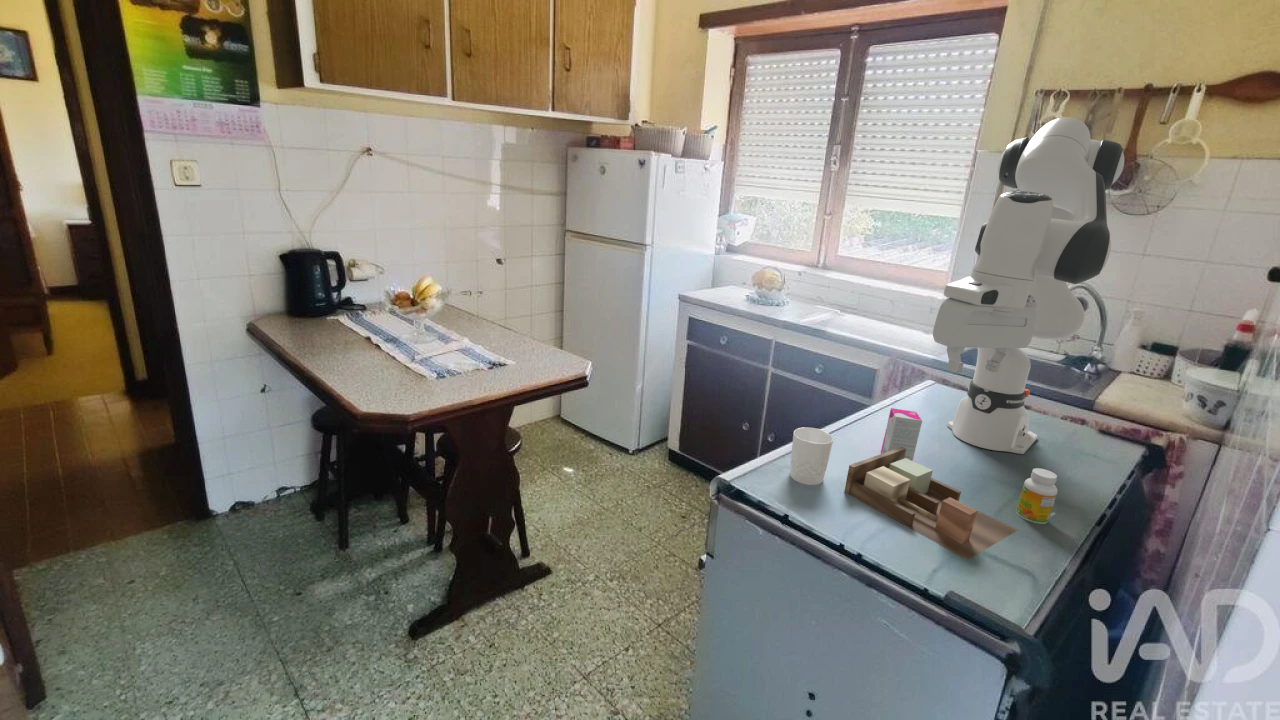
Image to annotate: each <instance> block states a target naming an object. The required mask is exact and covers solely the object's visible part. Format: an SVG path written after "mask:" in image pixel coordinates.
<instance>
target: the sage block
mask: <svg viewBox="0 0 1280 720" xmlns="http://www.w3.org/2000/svg"><path fill="white" fill-rule="evenodd" d="M889 469H890V470H892V471H894V472H896V473H898V474H900V475H902V476H904V477H906V478H908V479H910V484H909V487H910V488H912V489H914V490H916V491H918V492H920V493H922V494H924V493H927V492H928V488H929V484H930V480H931V478H932V475H933V472H934V470H933V469H932V468H930V467H929V468H928V467H927V466H924V465H922V464H921V463H918V462H916V461H914V460H913V461H911V460H909V459H907V458H904V459H902V460H899V461H896V462H894V463H891V464H890V466H889Z"/></svg>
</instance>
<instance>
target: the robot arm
mask: <svg viewBox="0 0 1280 720" xmlns="http://www.w3.org/2000/svg"><path fill="white" fill-rule="evenodd" d="M1124 167H1125V154H1124V148H1123V146H1122V145H1121V144H1120V143H1118V142H1116V141H1112V140H1107V139H1102V140H1097V139H1092V137H1091V132H1090V130H1089V128H1088V126H1087V125H1086V124H1085V123H1084V122H1083V121H1081V120H1080V119H1078V118H1074V117H1058V118H1055V119H1052V120H1050V121H1049V122H1046V123H1045V124H1044V125H1043V126H1042V127H1041V128H1039V129H1038V131H1037V132H1036V133H1035V134H1034V135H1032V137H1030V136H1029V137H1022V138H1018V139H1017V138H1016V139H1015V140H1013V141H1012V142H1010V143H1009V144H1007V146H1006V147H1005V150H1003V152H1002V154H1001V156H1000V157H999V160H998V165H997V173H998V180H999V181H1000V182H1001V184H1002V185H1003V186H1005V187H1008V188H1012V189H1018V190H1019V191H1016V190H1011V191H1006V192H1004V193H1001V194H1000V195H999V196H998V198H997V201H995V204H994V206H993V208H992V211H991V212H990V215H989V218H988V219H987V221H986V222H984V223H982V225H981V227H980V231H979V234H978V238H977V240H976V241H977V242H976V244H975V248H974V251H975V253H976V254H977V256H978V257H979V258H978V259H977V262H976V263H975V264H974V266H973V269H972V272H971V275H969V276H966V277H964V278H961V279H960V280H956V281H953V282H950V283H947V284H946V286H945V288H944V291H943V295H944V297H946V299H944V301H942V303H941V305H940V306H939V309H938V312H937V314H936V318H935V321H934V326H933V329H932V330H933V331H932V338H933V341H934V342H935V343H936V344H938V345H939V344H940V345H942V346H945V347H946V353H947V358H948V363H947V366H946V369H947V371H949V372H952V373H961V372H963V371H962V370H963V367H964V362H963V361H962V358H961V354H963V353H964V351H965V348H977V357H976V362H975V363H976V364H975V369H974V374H973V378H972V379H971V381H970V382H969V384H968V388H967V396H965V397H963V398H961V399H960V401H959V404H958V406H957V410H956V412H955V416H954V419H953V420H950V421H948V422H947V424H946V426H947V427H948V428H949V429H950V430H951V432H952V434H953V435H954V436H955V437H956V438H957V439H959V440H961V441H963V442H965V443H967V444H969V445H972V446H975V447H978V448H982V449H985V450H989V451H990V450H992V451H996V452H997V451H999V452H1007V453H1014V454H1019V455H1024V454H1025V453H1026V452H1027V451H1028V450H1029V448H1030V447H1031V446H1033V444H1034V443H1035V442H1036V441H1037V439H1038V435H1037V434H1036V433H1034V432H1032V431H1031V430H1030V429H1029V428H1030V424H1031V420H1032V415H1030V413H1029V412H1028V411H1027V409H1026V408H1025V401H1026V398H1028V397H1029V396H1030V394H1031V393H1030V392H1031V390H1030V389H1027V388H1026V385H1027V381H1028V378H1029V374H1030V370H1031V367H1032V366H1031V365H1032V363H1031V360H1030V358H1029V355H1027V353H1026V352H1025V351H1024V350H1022V349H1026V348H1027V347H1028V346H1029V345H1030V343H1031V341H1032V339H1033V338H1035V339H1039V340H1040V339H1041V340H1051V341H1052V340H1053V341H1054V340H1056V341H1062V340H1063V341H1066V340H1068V339H1069V338H1071V337H1073V336H1075V334H1077V333H1078V332H1079V331H1080V329H1081V328H1082V326H1083V324H1084V320H1085V308H1084V306H1083V304H1082V302H1081V301H1080V300H1079V299H1078V298H1077V297H1076V296H1075V295H1074V294H1073V292H1072V291H1071V289H1070V288H1069V286H1068V284H1073V285H1078V284H1081V283H1084V282H1087V281H1089V280H1091V279H1094V278H1095V277H1097V276H1099V275H1100V274H1101V272H1102V271H1103V269H1104V268H1105V266H1106V264H1107V262H1108V260H1109V257H1110V255H1111V249H1112V248H1111V247H1112V246H1111V245H1112V243H1111V236H1110V235H1111V233H1110V230H1109V227H1108V219H1107V197H1106V196H1107V195H1106V191H1107V190H1109V189H1110V188H1111V187H1112V186H1113V184H1114V183H1116V181H1117V180H1118V179H1119V177H1120V176H1121V174H1122V173H1123V170H1124ZM1067 283H1068V284H1067Z"/></svg>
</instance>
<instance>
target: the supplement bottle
mask: <svg viewBox="0 0 1280 720" xmlns="http://www.w3.org/2000/svg"><path fill="white" fill-rule="evenodd" d="M1057 480H1058V475H1057V474H1056V473H1054V472H1053V471H1050V470H1048V469H1045V468H1038V467H1036V468H1032V472H1031V474H1030V477H1029V478H1027V479H1025V481H1024V483H1023V485H1022V489H1021V493H1020V496H1019V500H1018V503H1017V505H1016V509H1015V512H1016V515H1017V516H1019V517H1020V518H1022V519H1023V520H1026V521H1029V522H1031V523H1035V524H1042V525H1046V524H1047V523H1049V520H1050V518H1051V513H1052V511H1053V508H1054V504H1055V501H1056V498H1057V495H1058V488H1057V486H1056V485H1055V484H1056V483H1057Z"/></svg>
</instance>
